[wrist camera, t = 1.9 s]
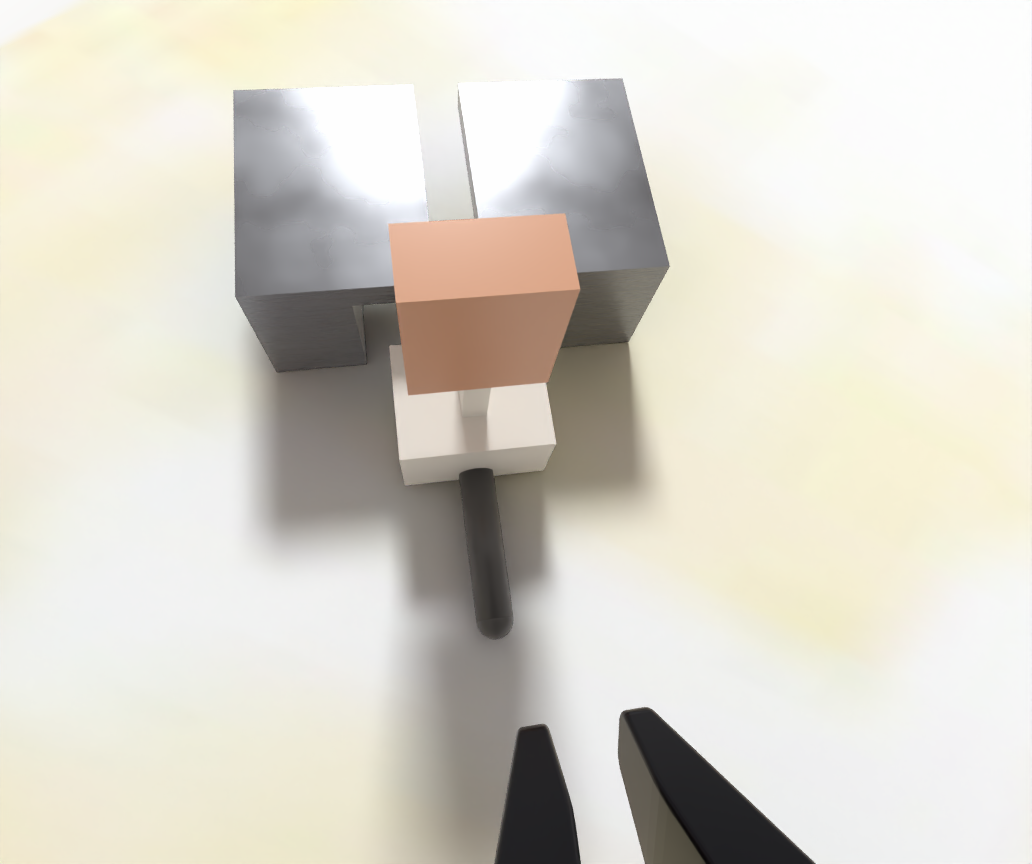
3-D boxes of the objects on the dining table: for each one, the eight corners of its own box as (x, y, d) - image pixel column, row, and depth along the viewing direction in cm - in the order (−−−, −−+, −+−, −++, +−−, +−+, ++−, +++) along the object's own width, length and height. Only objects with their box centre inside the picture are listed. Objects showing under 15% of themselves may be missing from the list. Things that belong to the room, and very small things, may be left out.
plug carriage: (569, 628, 23) (666, 591, 13) (420, 651, 22) (399, 628, 12) (527, 370, 26) (579, 176, 16) (395, 382, 25) (362, 187, 15)
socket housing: (628, 341, 27) (669, 266, 22) (276, 371, 25) (235, 297, 20) (592, 178, 30) (622, 78, 25) (271, 194, 28) (233, 90, 23)
